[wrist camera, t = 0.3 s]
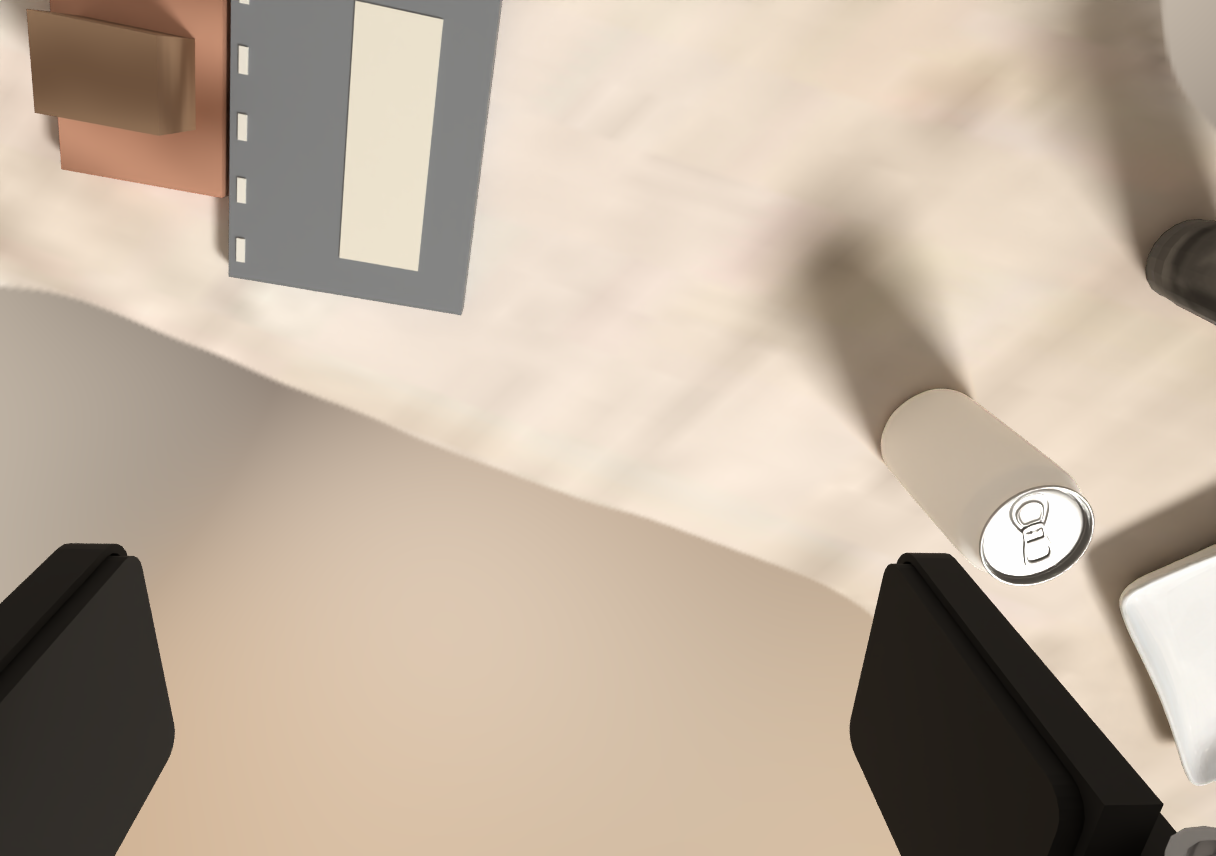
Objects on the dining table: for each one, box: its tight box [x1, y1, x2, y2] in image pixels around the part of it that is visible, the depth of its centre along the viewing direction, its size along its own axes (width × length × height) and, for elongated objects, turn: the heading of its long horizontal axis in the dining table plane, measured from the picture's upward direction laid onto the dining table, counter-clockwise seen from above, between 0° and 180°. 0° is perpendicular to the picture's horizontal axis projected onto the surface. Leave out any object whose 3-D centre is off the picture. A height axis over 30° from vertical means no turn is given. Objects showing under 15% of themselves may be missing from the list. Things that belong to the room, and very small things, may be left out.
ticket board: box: [229, 0, 502, 315], centre depth 40 cm, size 18×12×1 cm, turn 169°
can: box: [881, 389, 1094, 586], centre depth 44 cm, size 6×6×12 cm
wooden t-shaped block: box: [27, 0, 231, 198], centre depth 36 cm, size 10×7×5 cm
